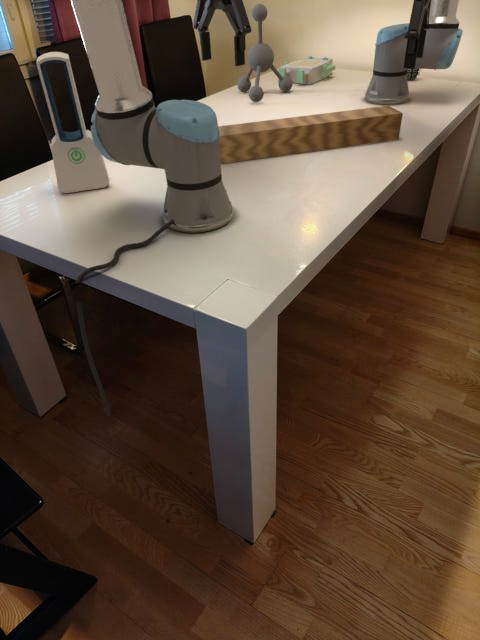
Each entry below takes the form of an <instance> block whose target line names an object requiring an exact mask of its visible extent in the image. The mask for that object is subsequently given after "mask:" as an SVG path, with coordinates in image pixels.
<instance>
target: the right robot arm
mask: <svg viewBox="0 0 480 640" xmlns="http://www.w3.org/2000/svg"><path fill="white" fill-rule="evenodd" d="M459 2H460V0H413V3H412V7H411V13H410V18H409V23H408V22H405V23H398V24H392V25H388V26H385V27H382V28H380V29H379V30H378V32H377V34H376V41H375V44H374V46H375V49H374V58H373V69H372V75H371V79H370V82H369V83H368V85H367V89H366V91H365V93H364V94H365V95H364V96H365V97H364V100H365V101H366V102H367V103H370V104H373V105H382V106H390V105H391V106H392V105H393V106H394V105H401V104H404V103H407V102H408V101H409V99H410V88H409V83H408V82H409V81H408V80H407V70H408V68H416V69H419V70H420V69H421V70H434V71H436V70H447V69H449V68H450V67H451V66H452V65H453V63H454V60H455V56H456V55H457V53H458V49H459V46H460V43H461V40H462V36H463V32H464V31H463V29H462V28H459V27H460V23H461V22H460V21H459V19H458V18H457V12H458V7H459V4H460V3H459Z"/></svg>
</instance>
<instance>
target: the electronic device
mask: <svg viewBox="0 0 480 640" xmlns="http://www.w3.org/2000/svg"><path fill="white" fill-rule="evenodd" d="M55 63H57V64H62V65H63V68H64V72H65V77H66V81H67V85H68V89H69V93H70V97H71V101H72V104H73V105H72V106H73V109H74V113H75V117H76V121H77V126H78V130H75V131H64V130H63V127H62V122H61V119H60V115H59V111H58V108H57V104H56V100H55V96H54V93H53V90H52V85H51V81H50V78H49V74H48V73H49V72H48V71H47V66H46V65H49V64H55ZM35 64H36V67H37V71H38V75H39V79H40V82H41V86H42V90H43V93H44V96H45V101H46V104H47V108H48V111H49V115H50V119H51V122H52V126H53V129H54V133H55V135H54V136H53V137H52V139H51V144H50V150H51V155H52V156H51V157H52V161H53V166H54V173H55V178H56V184H57V188H58V190H59V191H60V192H62V193H63V194H69V193H76V192H77V193H78V192H83V191H90V190H98V189H103V188H107V187H108V184H109V183H110V178H109V172H108V169H107V166H106V163H105V159H104V156H103V155H102V154H101V153H100V152H99V151H98V149H97V148H96V146H95V144H94V141H93V138H92V134H91V130H89V129H87V127H86V123H85V119H84V116H83V115H84V114H83V111H82V107H81V102H80V99H79V94H78V89H77V86H76V81H75V77H74V73H73V69H72V64H71V59H70V56H69V54H68V53H65V52H62V51H49V52H46V53H42V54H41V55H40V56H38V57H37V59H36V62H35Z"/></svg>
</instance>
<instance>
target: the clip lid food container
mask: <svg viewBox="0 0 480 640" xmlns="http://www.w3.org/2000/svg"><path fill="white" fill-rule="evenodd" d="M333 61H334V59H333V58H328V57H313V56H312V55H311V56H308V57H306V58H303V59H302V58H299V59H297V60H295V61H292V62H289V61H285V62H284V63H283V65H280V67H279V68H278V69H277V70H278V72H279V73H280V74H281V75H282V77H284V76H288V77H290V78H291V79H292V82H293V83H296V84H304V85H312V84H315V83H317V82H319V81H321V80H324V79H326V78H328V77H330V75H332V74H333V71H336V65H333ZM277 79H278V82H279V78H278V77H277Z"/></svg>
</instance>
